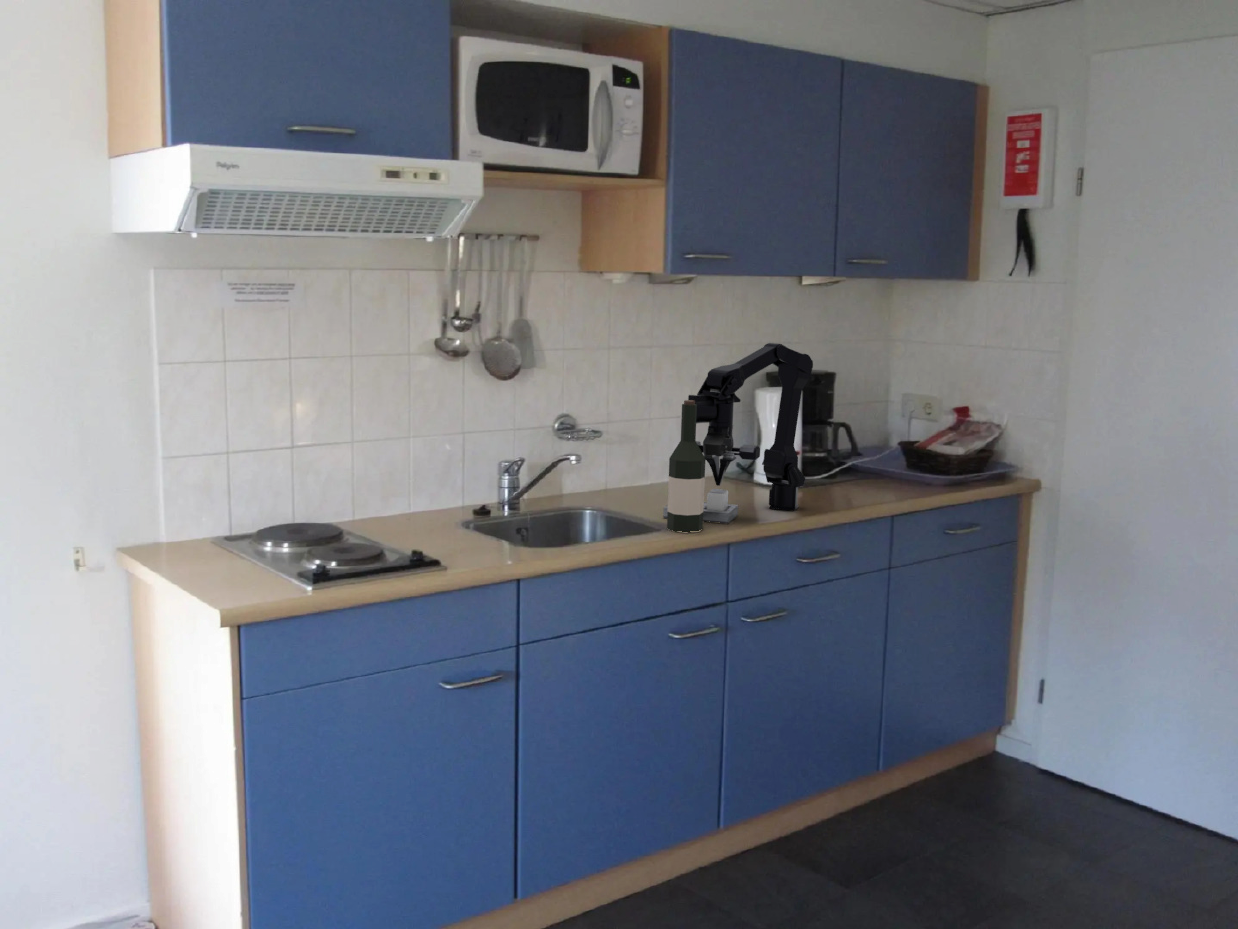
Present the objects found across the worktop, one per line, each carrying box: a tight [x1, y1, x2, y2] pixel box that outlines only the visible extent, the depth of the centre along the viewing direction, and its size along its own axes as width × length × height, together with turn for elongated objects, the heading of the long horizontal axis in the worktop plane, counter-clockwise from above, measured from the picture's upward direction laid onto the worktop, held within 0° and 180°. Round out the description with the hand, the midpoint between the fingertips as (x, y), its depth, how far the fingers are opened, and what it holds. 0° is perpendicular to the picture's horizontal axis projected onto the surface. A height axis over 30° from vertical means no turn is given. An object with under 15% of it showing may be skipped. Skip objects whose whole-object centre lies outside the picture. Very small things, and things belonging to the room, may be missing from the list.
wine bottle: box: [666, 399, 706, 532], centre depth 280 cm, size 8×8×30 cm
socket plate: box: [662, 501, 739, 524], centre depth 297 cm, size 16×11×3 cm
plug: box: [706, 488, 729, 511], centre depth 296 cm, size 4×5×6 cm
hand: (718, 485), depth 295 cm, fingers closed
